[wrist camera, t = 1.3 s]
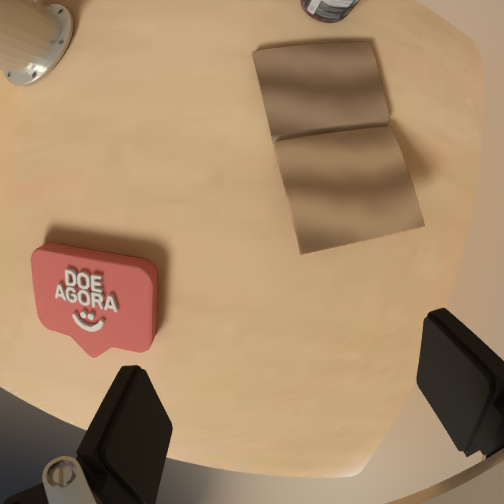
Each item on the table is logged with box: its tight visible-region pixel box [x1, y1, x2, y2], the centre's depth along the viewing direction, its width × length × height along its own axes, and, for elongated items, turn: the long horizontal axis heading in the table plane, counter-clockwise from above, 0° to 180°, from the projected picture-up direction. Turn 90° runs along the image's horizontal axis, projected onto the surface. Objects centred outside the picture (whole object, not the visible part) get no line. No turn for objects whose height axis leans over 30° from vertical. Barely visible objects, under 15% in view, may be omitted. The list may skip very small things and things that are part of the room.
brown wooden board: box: [252, 42, 390, 144], centre depth 29 cm, size 11×14×1 cm
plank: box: [274, 126, 425, 255], centre depth 30 cm, size 12×14×1 cm
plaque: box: [31, 243, 158, 358], centre depth 35 cm, size 18×4×15 cm
